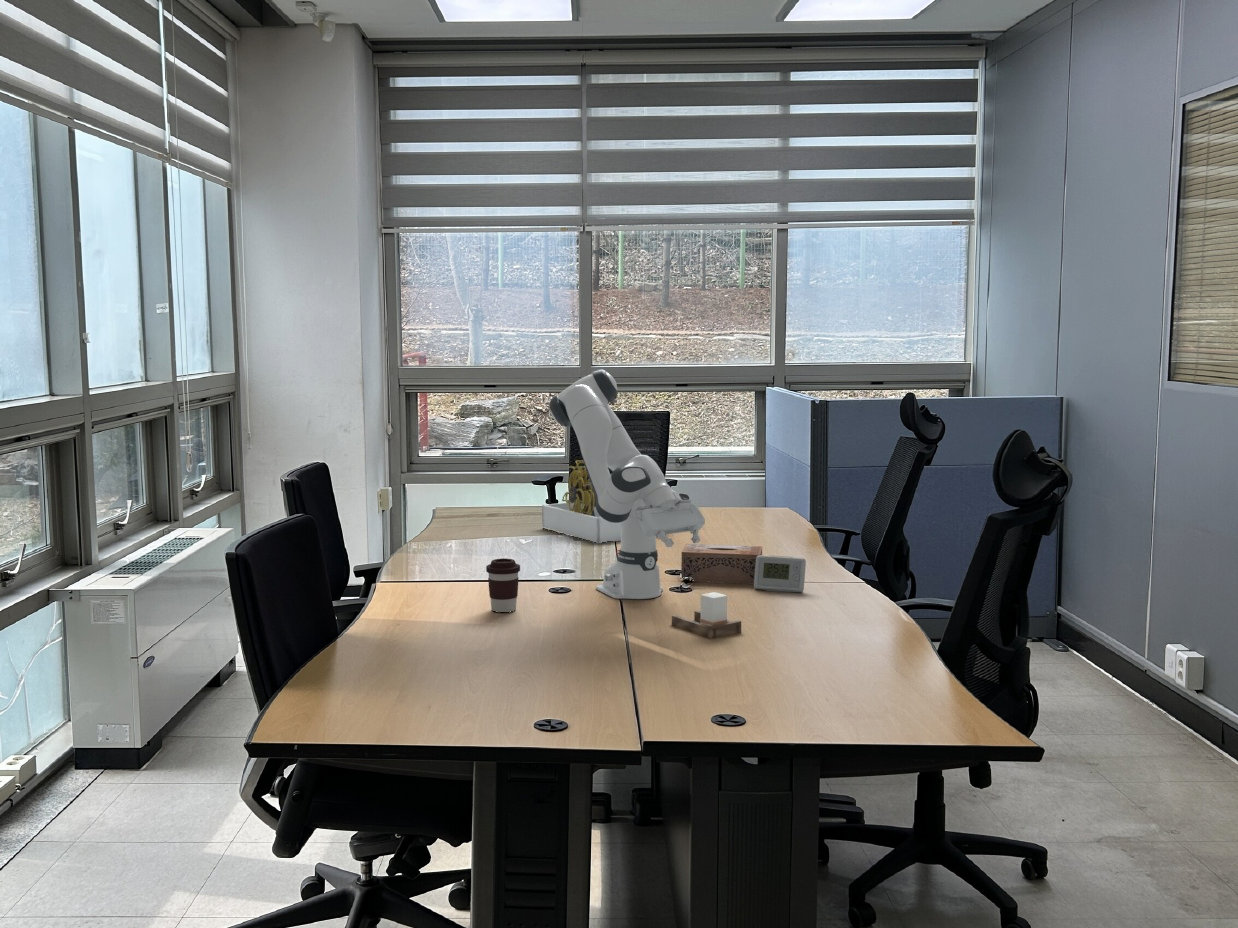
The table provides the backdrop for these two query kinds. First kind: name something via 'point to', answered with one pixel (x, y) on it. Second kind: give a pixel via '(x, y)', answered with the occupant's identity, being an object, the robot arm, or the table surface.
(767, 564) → the digital clock
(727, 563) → the tissue box cover
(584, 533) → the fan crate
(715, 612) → the block
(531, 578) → the table surface
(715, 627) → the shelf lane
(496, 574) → the coffee cup
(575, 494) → the yellow stringy mass
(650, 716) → the table surface
